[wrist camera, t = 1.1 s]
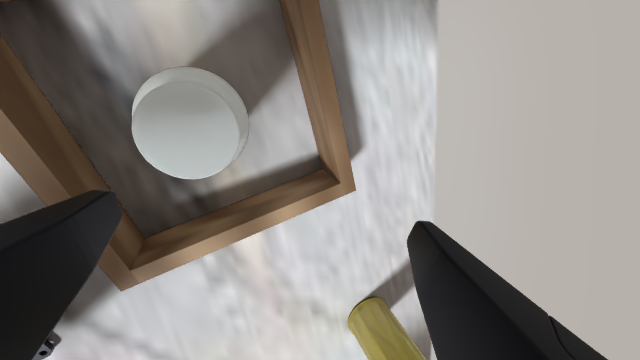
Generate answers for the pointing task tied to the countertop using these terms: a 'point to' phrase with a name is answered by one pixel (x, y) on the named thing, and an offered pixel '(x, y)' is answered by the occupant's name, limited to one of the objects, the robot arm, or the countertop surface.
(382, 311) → the vase
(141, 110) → the supplement bottle
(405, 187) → the countertop surface
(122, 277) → the wooden square frame
